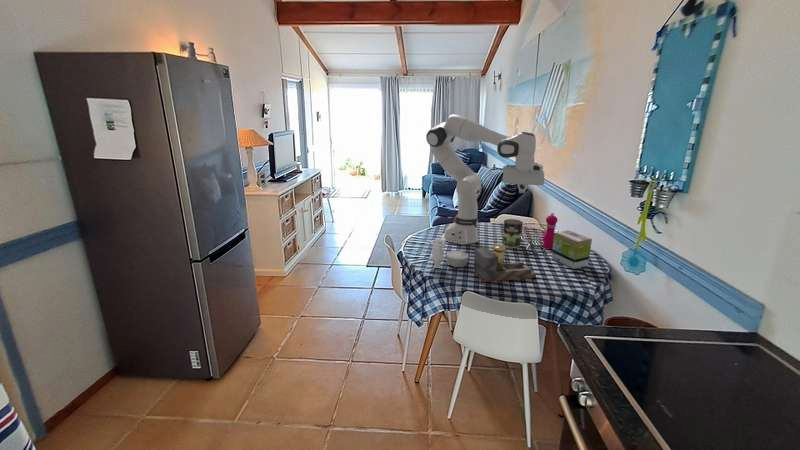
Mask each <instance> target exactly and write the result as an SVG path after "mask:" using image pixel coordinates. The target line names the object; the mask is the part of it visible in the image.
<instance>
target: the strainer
mask: <svg viewBox="0 0 800 450" xmlns="http://www.w3.org/2000/svg"><path fill="white" fill-rule="evenodd" d="M430 245H431V246H432V247H431V248H432V249H431V254H430V259H431V260H433V261H434V266H435V267H437V268H439V267H442V266H441V263H442V261H444V260H445V259H446V254H445V253H444V251H445V249H444V247H446V241H445V239H441V238H439V239H437V238H435V239H431V240H430Z"/></svg>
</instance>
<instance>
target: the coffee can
mask: <svg viewBox="0 0 800 450" xmlns="http://www.w3.org/2000/svg"><path fill="white" fill-rule="evenodd" d="M523 223H524V222H523V221H522V220H520V219H516V218H509V219H505V220H503V229H502V230H503V231H502V241H501V245H504V246H506V248H510V249H517V248H520V247H521V241H522V233H523V232H522V231H523V225H524V224H523Z"/></svg>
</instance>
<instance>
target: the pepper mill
mask: <svg viewBox="0 0 800 450" xmlns="http://www.w3.org/2000/svg"><path fill="white" fill-rule="evenodd" d="M545 221H546V225H545V226H546V230H545V233H544V234H543V237H542V242H543V243H542V247H543V246H544V247H545V249H548V250H551V249H553V241H554V233H555V229H556V226H557V223H558V217H557V216H556V215H555V213H554V212H551V213H550V215H547V217H546V218H545ZM544 247H543V248H544Z"/></svg>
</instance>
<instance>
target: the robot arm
mask: <svg viewBox="0 0 800 450" xmlns="http://www.w3.org/2000/svg"><path fill="white" fill-rule="evenodd" d="M456 137H457V138H459V139H461V140H463V141H467V142H470V143H475V142H476V143H478V142H480V143H481V142H484V143H489V144H491V145H494V146H496V148H497V154H498V155H499V156H500V157H501V158H504V159H509V158H514V159H515V164H506V165H504V166H503V167H502V173H503V175H502V183H503V184H510V185H511V184H512V185H514V184H515V185H516V186H517V188H518V193H519V194H526V190H527V189H528V187H529V185H530V186H544V184H545V172H544V166H543V164H541V163H537V162H535V153H536V144H537V141H536V135H535V134H533V132H527V131H521V132H518V133H517V134H516V135H513V136H507V135H504V134H501V133H499V132H497V131H494V130H491V129H490V128H488V127H486V126H484V125H482V124H481V123H479V122H477V121H475V120H473V119H471V118H468V117H466V116H463V115H460V114H451V115H449V116H448V118H447V119H446V120H445V121H443V122H440V123H437V124H436V125H435V126H434V127H432V128H430V129H429V130H428V132H427V133H426V137H425V139H426V142H427V144H428V145H429V146H430V147H432V148H431V152H432V154H433V156H434V157H435V160H436V161H437V163H439V165H440V167H441V168H442V169H443V170H444V172H446V174H447V175H448V176H449V177H450V178H453V180H455V181H456V182H457V183H456V186H455V190H456V194H457V201H458V211H457V212H458V213H457V214H456V215H455V216H454V221H453V222H452V223H451V224H450V225H448V226H447V227H446V228H445V230H444V233H443V234H441V236H440V239H445V242H447V241H448V242H447V243H452V242H453V244H457V243H458V244H457V245H462V246H464V245H468V244H475V243H477V242H479V235H478V225H479V219H478V210H479V209H478V207H479V204H478V200H477V199H478V196H477V193H478V190H480V188H481V185H482V179H481V177H480V175H478V174H477V173H476V172H475V171H474V170H473V169H471V167H469V166H468V165H467V164H466V163H465V162H464V161H463V160H462V159H461V157H460V156H459V155H458V154H457V152H456V151H455V150H454V149H453V148H452V147H451V143H453V142H454V140H455V138H456ZM521 185H524V188H521V187H520V186H521Z"/></svg>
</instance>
